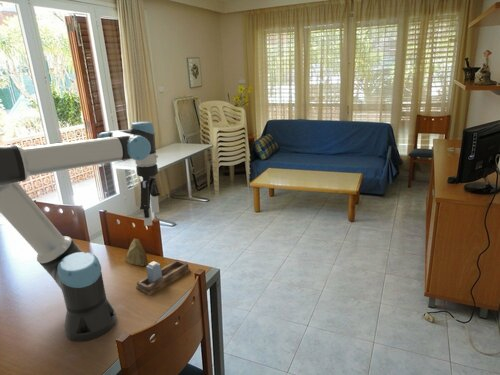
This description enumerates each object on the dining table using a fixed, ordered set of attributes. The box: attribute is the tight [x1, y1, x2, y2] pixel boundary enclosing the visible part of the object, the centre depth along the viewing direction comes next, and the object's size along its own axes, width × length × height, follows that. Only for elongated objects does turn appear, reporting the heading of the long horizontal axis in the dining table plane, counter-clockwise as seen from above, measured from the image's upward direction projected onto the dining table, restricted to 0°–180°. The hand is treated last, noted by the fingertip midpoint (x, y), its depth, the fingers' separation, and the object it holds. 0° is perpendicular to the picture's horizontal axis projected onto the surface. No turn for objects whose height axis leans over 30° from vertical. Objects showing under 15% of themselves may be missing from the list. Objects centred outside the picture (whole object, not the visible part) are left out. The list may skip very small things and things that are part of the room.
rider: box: [145, 260, 162, 284], centre depth 136 cm, size 4×3×8 cm
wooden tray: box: [135, 259, 191, 296], centre depth 141 cm, size 20×8×3 cm, turn 143°
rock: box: [124, 237, 149, 267], centre depth 153 cm, size 11×9×10 cm
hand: (152, 218), depth 140 cm, fingers open, 13 cm apart
